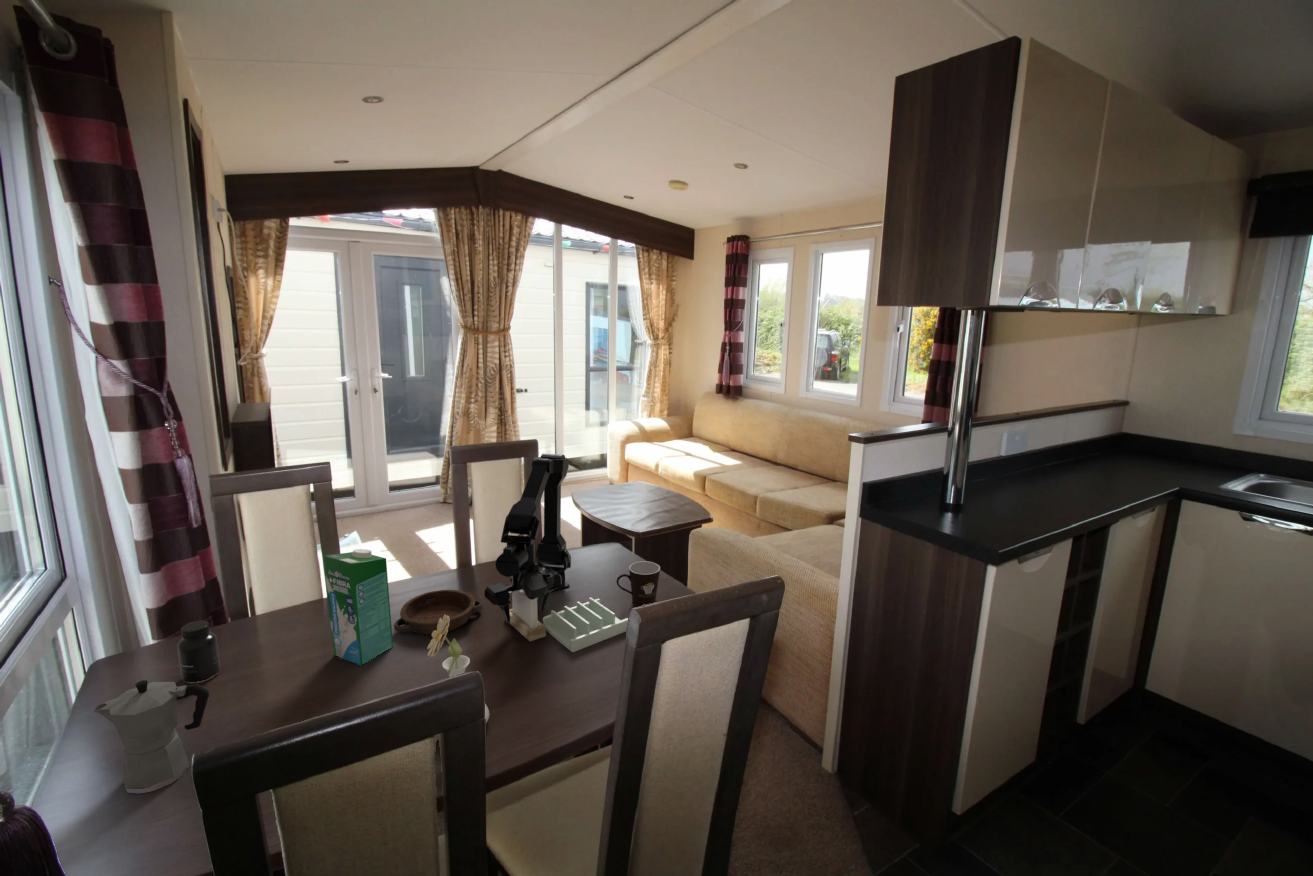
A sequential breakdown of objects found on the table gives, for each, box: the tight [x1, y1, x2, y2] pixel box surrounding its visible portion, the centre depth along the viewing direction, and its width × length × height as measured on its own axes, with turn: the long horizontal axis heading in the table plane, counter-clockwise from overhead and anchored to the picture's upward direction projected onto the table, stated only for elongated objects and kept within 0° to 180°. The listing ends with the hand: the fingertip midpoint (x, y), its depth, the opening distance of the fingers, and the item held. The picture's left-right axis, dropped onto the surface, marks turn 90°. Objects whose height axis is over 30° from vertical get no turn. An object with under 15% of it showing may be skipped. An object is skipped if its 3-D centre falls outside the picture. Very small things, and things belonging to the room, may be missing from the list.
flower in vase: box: [426, 615, 490, 723], centre depth 115 cm, size 13×11×25 cm
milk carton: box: [323, 548, 394, 666], centre depth 140 cm, size 9×9×25 cm
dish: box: [393, 589, 483, 635], centre depth 157 cm, size 17×22×5 cm
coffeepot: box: [93, 679, 210, 790], centre depth 104 cm, size 15×9×18 cm, turn 114°
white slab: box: [511, 590, 539, 629], centre depth 154 cm, size 10×2×10 cm, turn 40°
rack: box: [542, 597, 628, 653], centre depth 154 cm, size 14×17×5 cm
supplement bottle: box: [176, 620, 221, 682], centre depth 131 cm, size 7×7×12 cm
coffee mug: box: [615, 560, 661, 607], centre depth 169 cm, size 12×9×10 cm
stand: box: [504, 608, 547, 642], centre depth 155 cm, size 13×4×2 cm, turn 40°
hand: (524, 616), depth 154 cm, fingers open, 9 cm apart
